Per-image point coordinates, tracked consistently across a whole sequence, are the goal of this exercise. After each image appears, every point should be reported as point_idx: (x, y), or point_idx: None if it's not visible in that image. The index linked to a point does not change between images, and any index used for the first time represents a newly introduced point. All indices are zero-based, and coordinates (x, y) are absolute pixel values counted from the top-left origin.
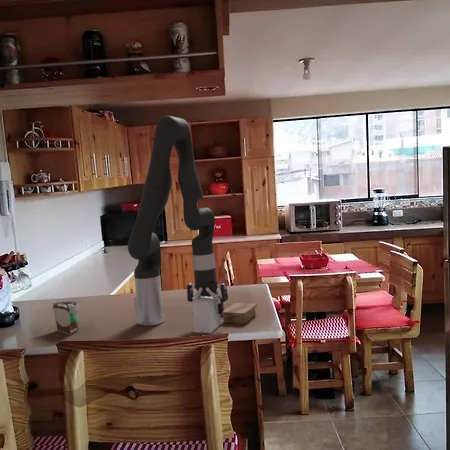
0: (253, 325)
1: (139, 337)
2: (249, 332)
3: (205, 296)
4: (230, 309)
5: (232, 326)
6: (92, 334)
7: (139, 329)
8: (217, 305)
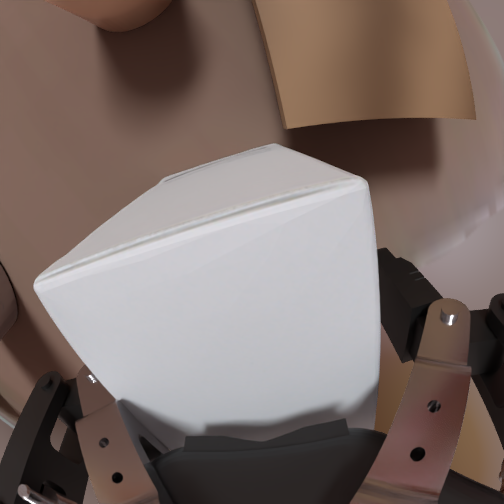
0: (463, 122)
1: None
2: (474, 225)
3: (165, 383)
4: (326, 33)
5: (379, 166)
6: (12, 390)
7: (28, 351)
8: (396, 351)
